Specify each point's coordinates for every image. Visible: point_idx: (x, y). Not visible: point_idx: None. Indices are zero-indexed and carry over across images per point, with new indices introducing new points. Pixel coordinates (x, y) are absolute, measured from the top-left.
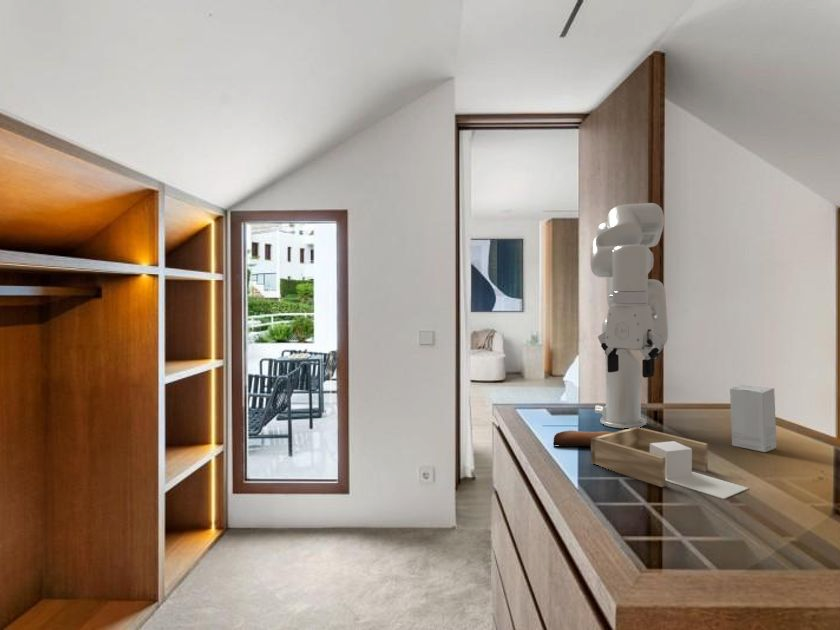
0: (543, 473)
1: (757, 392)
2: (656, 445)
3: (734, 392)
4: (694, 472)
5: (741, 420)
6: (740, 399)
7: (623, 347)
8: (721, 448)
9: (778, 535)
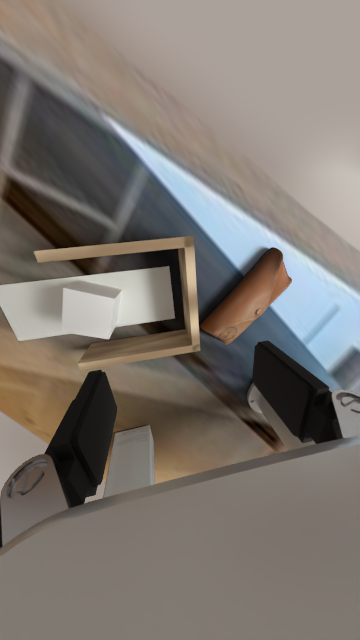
0: (191, 124)
1: None
2: (99, 299)
3: None
4: None
5: (135, 459)
6: None
7: (216, 486)
8: (148, 411)
9: None
